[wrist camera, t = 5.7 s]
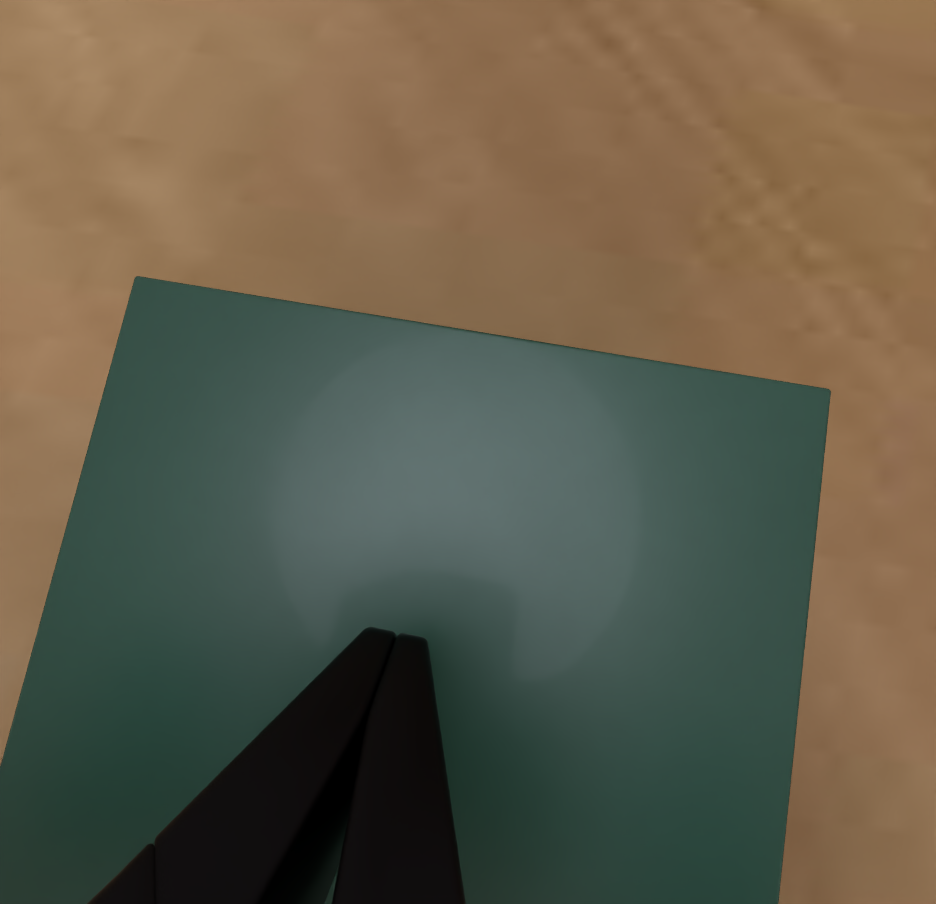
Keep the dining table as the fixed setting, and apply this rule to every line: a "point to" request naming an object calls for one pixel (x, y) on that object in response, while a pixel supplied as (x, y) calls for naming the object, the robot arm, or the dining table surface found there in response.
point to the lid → (429, 593)
